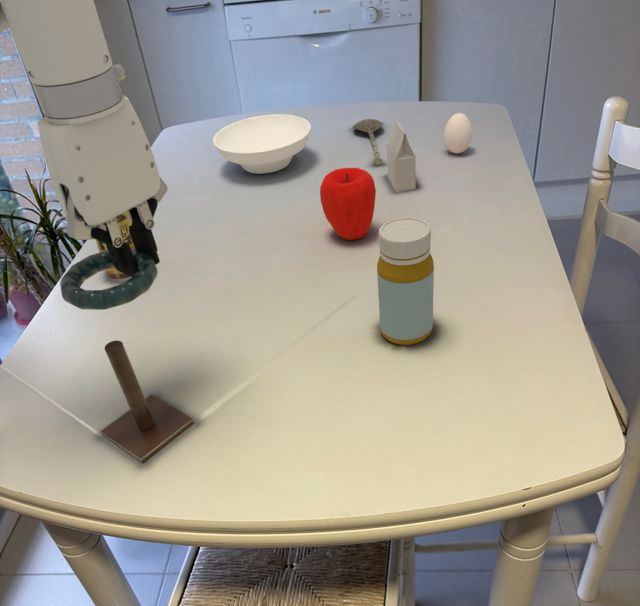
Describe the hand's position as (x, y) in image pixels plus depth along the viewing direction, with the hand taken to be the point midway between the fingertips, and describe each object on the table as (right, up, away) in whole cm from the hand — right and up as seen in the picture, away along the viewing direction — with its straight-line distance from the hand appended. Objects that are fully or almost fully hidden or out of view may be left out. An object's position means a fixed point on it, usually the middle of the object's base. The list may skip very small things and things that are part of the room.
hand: (138, 266), depth 73 cm
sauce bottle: (-11, +7, +34) cm, 36 cm away
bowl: (+10, +35, +59) cm, 69 cm away
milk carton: (+36, +27, +47) cm, 65 cm away
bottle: (+32, -5, +14) cm, 36 cm away
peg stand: (0, -19, +6) cm, 19 cm away
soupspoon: (+31, +40, +61) cm, 79 cm away
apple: (+26, +14, +35) cm, 45 cm away
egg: (+47, +35, +54) cm, 80 cm away
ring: (-3, -2, -2) cm, 4 cm away
